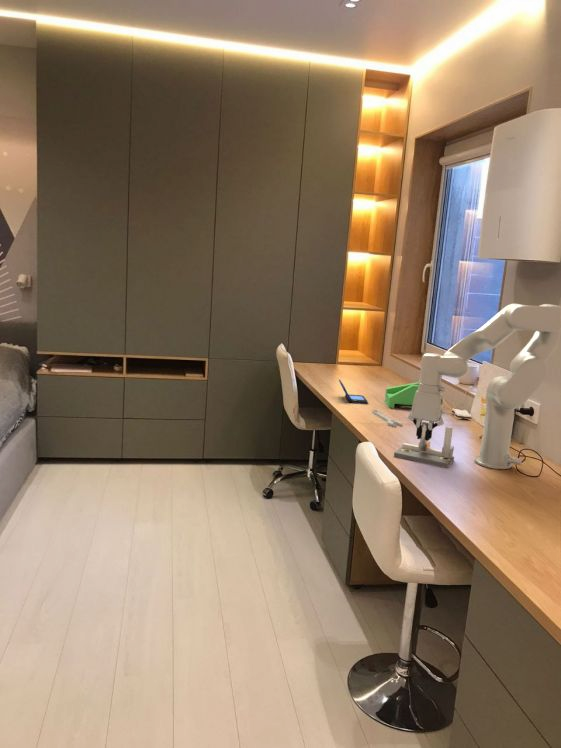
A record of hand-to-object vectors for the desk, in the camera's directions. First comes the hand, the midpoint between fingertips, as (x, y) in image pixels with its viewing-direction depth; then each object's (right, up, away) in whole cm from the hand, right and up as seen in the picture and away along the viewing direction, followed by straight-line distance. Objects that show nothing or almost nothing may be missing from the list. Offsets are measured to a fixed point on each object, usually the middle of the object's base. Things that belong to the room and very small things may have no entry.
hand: (423, 438), depth 223 cm
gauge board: (0, -7, +1) cm, 7 cm away
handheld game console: (-15, +10, +90) cm, 91 cm away
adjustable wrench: (-4, +2, +55) cm, 55 cm away
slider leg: (0, -5, +2) cm, 5 cm away
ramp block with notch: (+13, +6, +84) cm, 86 cm away
